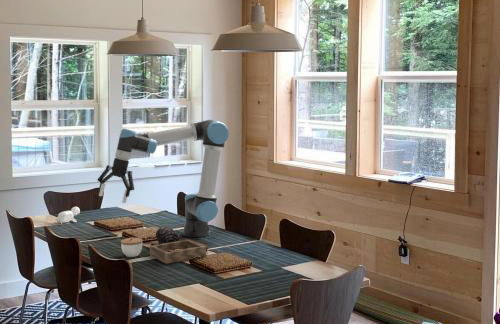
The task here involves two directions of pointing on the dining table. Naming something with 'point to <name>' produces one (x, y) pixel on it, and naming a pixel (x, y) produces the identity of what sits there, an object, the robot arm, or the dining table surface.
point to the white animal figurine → (68, 215)
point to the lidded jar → (131, 246)
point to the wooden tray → (189, 251)
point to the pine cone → (166, 235)
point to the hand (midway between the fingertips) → (112, 199)
